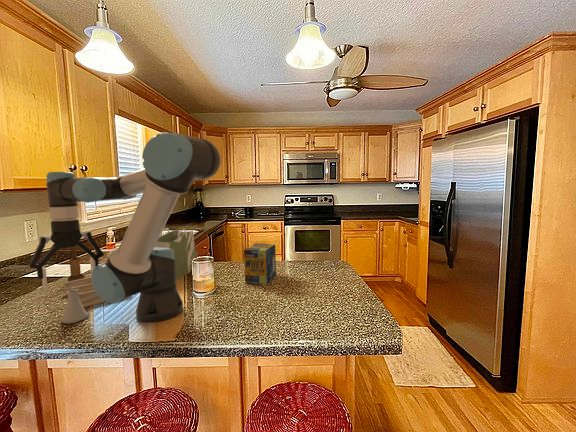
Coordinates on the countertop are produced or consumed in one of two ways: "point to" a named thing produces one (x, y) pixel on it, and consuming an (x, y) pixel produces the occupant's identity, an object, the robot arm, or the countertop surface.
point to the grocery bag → (179, 249)
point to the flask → (74, 308)
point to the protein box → (259, 263)
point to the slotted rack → (84, 291)
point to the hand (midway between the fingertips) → (70, 282)
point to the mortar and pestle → (74, 266)
